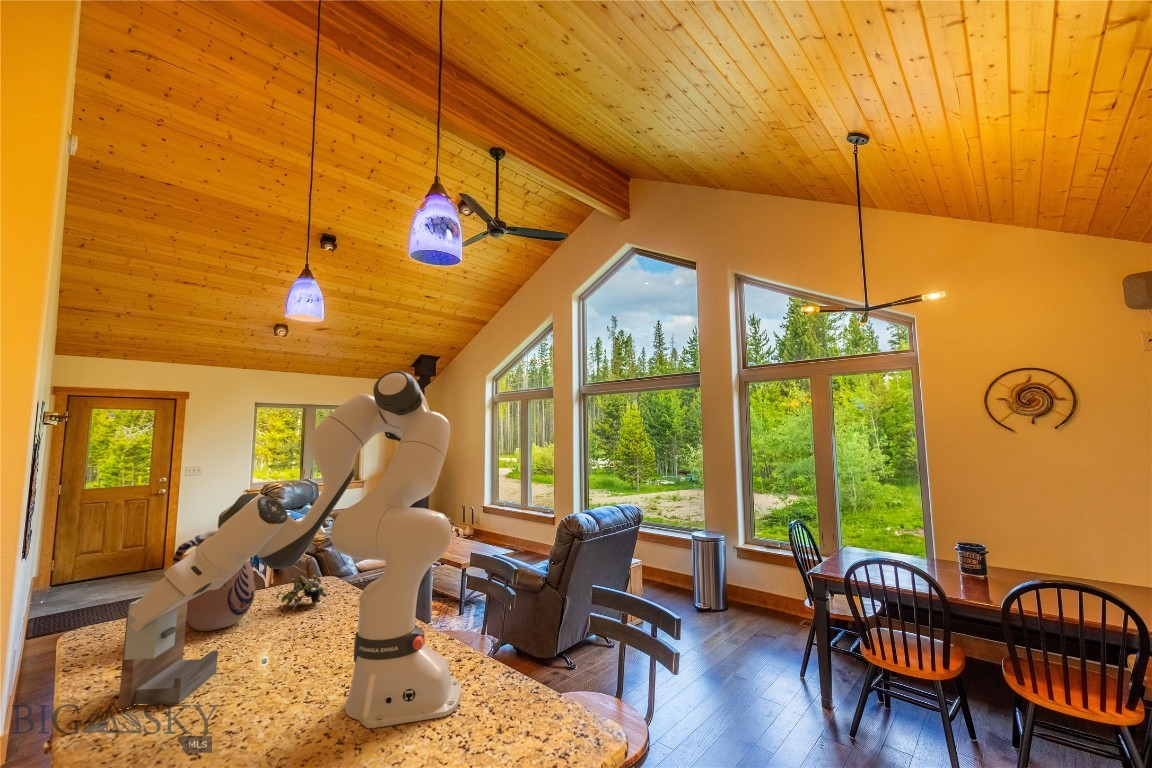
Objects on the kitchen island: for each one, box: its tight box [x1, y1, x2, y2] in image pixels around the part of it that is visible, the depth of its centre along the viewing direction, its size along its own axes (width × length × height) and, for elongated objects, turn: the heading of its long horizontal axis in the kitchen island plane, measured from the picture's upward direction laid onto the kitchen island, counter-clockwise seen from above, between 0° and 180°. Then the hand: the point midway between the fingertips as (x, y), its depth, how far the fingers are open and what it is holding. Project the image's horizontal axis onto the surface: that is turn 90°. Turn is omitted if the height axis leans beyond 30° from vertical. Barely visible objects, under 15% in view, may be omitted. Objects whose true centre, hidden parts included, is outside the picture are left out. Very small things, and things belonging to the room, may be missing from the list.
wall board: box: [117, 602, 219, 710], centre depth 107 cm, size 10×16×18 cm, turn 8°
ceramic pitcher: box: [172, 530, 256, 632], centre depth 140 cm, size 18×21×25 cm
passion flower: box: [276, 574, 328, 612], centre depth 156 cm, size 11×11×12 cm
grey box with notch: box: [124, 598, 178, 660], centre depth 97 cm, size 6×6×10 cm
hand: (149, 620), depth 97 cm, fingers closed on grey box with notch, 6 cm apart
